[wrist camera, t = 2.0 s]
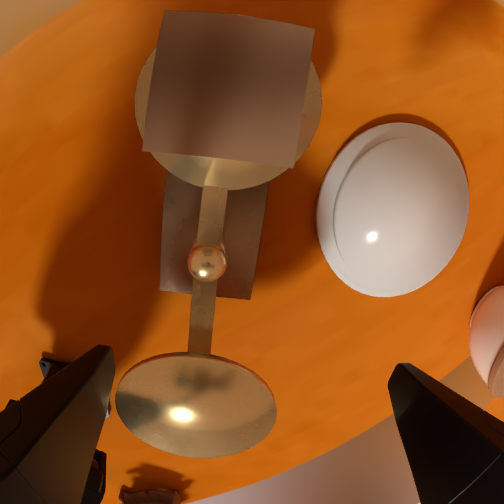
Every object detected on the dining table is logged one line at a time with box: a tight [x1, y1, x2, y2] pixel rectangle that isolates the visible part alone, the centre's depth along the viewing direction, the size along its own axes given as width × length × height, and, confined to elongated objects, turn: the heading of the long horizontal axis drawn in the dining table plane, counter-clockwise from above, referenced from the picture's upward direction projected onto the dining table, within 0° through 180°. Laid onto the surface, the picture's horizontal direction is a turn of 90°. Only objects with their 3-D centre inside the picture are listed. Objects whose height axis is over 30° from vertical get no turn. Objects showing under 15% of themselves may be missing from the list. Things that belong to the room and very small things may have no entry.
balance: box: [115, 14, 322, 458], centre depth 17 cm, size 25×9×8 cm, turn 172°
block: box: [142, 10, 315, 168], centre depth 11 cm, size 5×5×5 cm
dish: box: [316, 122, 469, 297], centre depth 21 cm, size 13×13×1 cm
